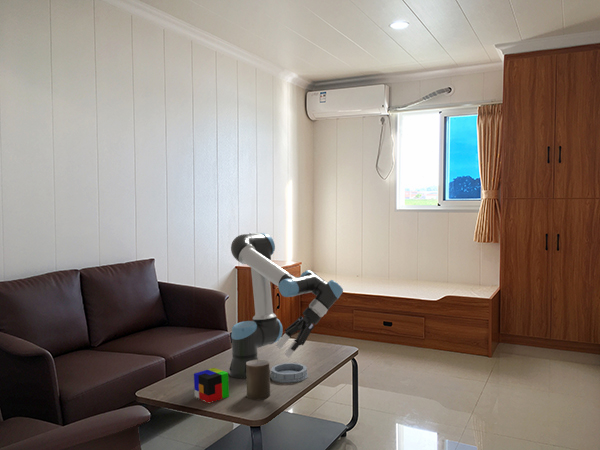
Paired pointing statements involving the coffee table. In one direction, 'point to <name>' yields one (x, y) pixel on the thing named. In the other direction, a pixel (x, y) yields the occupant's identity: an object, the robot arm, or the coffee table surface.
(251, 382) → the pillar candle
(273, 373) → the candle dish
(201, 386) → the puzzle toy
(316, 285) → the robot arm
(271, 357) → the coffee table surface
